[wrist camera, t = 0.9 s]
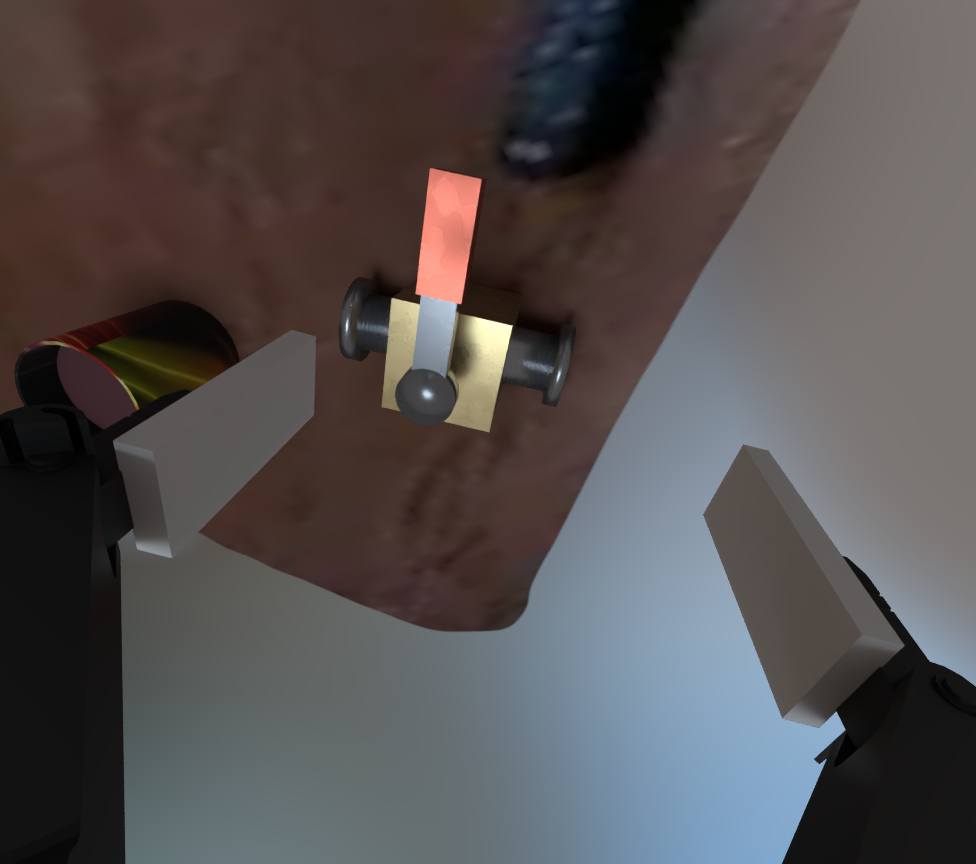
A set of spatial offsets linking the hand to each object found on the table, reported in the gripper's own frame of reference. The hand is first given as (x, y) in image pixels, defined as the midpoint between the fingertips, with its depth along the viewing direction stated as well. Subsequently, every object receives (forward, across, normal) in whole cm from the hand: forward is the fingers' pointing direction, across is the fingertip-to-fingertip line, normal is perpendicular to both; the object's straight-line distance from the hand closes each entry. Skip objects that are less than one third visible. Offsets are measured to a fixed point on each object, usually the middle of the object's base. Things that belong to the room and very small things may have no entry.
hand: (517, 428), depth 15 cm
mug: (+26, -31, -17) cm, 44 cm away
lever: (+17, -5, -1) cm, 18 cm away
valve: (+26, -5, -7) cm, 28 cm away
